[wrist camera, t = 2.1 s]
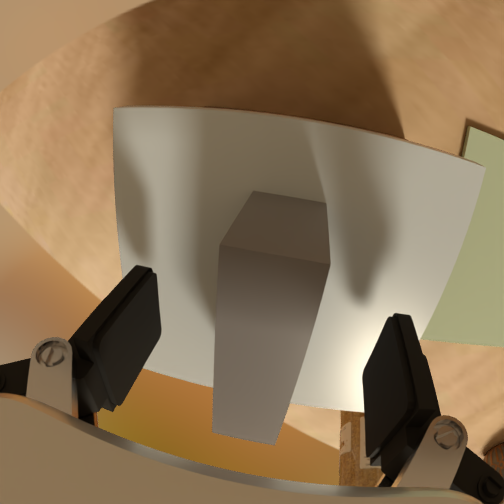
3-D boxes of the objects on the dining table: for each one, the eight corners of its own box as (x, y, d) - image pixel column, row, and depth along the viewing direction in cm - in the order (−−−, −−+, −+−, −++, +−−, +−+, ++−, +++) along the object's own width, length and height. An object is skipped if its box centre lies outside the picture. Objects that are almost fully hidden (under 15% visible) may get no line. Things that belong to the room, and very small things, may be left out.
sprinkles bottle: (330, 399, 28) (320, 531, 16) (370, 379, 26) (375, 521, 14) (356, 418, 29) (352, 538, 17) (394, 401, 26) (402, 527, 15)
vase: (524, 433, 27) (536, 479, 20) (503, 455, 31) (512, 498, 23) (491, 441, 29) (501, 492, 21) (470, 463, 32) (477, 509, 24)
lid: (458, 153, 11) (553, 209, 5) (372, 379, 17) (378, 478, 11) (146, 103, 12) (33, 124, 6) (155, 337, 18) (106, 421, 13)
